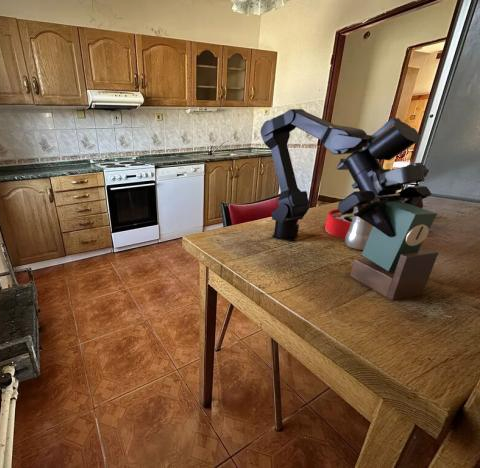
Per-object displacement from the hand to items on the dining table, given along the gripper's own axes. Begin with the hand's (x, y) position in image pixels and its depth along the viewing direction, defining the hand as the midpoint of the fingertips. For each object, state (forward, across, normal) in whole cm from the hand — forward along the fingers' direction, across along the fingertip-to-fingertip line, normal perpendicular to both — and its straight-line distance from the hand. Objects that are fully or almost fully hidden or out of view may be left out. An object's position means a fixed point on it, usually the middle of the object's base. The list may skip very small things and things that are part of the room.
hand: (403, 234), depth 53 cm
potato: (-16, +50, +34) cm, 62 cm away
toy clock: (-11, +23, +29) cm, 39 cm away
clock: (+4, 0, +6) cm, 8 cm away
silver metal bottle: (-4, +12, +22) cm, 25 cm away
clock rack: (+8, 0, +10) cm, 13 cm away
